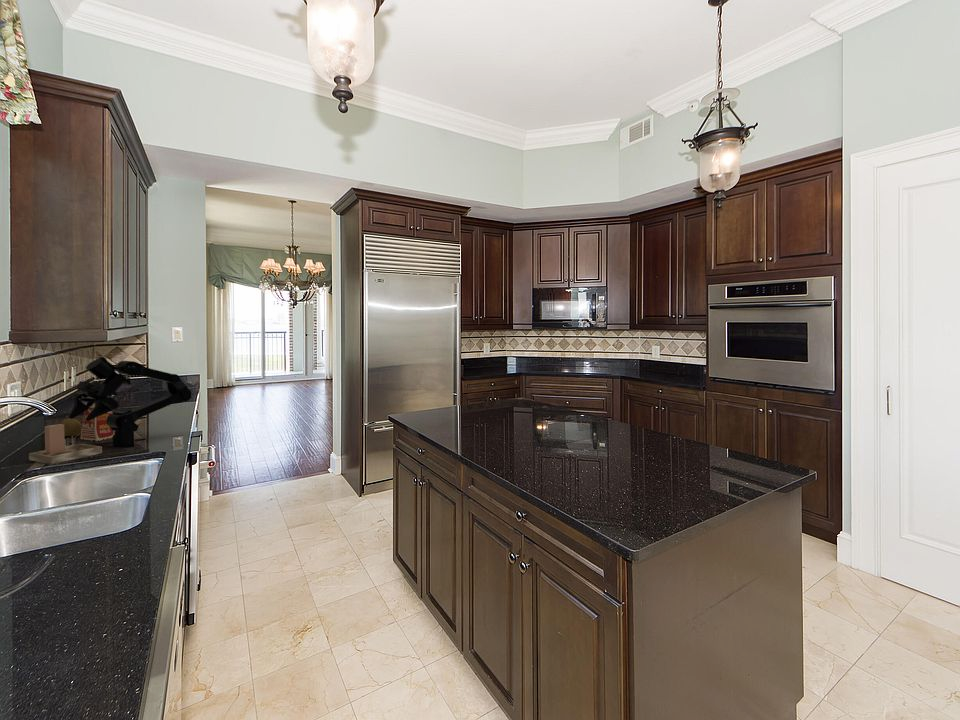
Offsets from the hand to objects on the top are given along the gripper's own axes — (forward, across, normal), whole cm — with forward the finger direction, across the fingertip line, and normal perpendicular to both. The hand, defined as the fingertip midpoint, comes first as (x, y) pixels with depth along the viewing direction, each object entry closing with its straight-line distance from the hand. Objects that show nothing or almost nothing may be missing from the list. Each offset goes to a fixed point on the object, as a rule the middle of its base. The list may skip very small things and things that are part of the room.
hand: (78, 419), depth 173 cm
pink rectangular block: (+14, 0, +4) cm, 15 cm away
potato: (-3, -36, +22) cm, 42 cm away
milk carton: (-5, -23, +25) cm, 34 cm away
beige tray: (+12, 0, +7) cm, 14 cm away
